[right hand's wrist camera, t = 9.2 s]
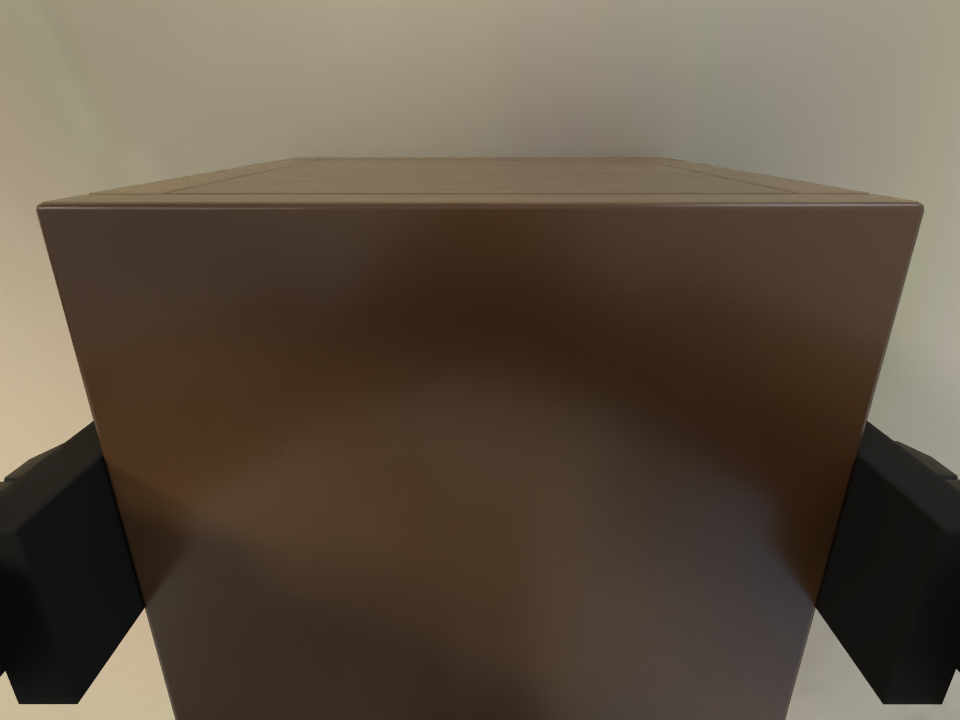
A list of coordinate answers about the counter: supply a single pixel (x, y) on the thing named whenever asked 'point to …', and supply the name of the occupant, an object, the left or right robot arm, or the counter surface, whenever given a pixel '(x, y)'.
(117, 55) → the counter surface
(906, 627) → the right robot arm
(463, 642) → the cabinet
